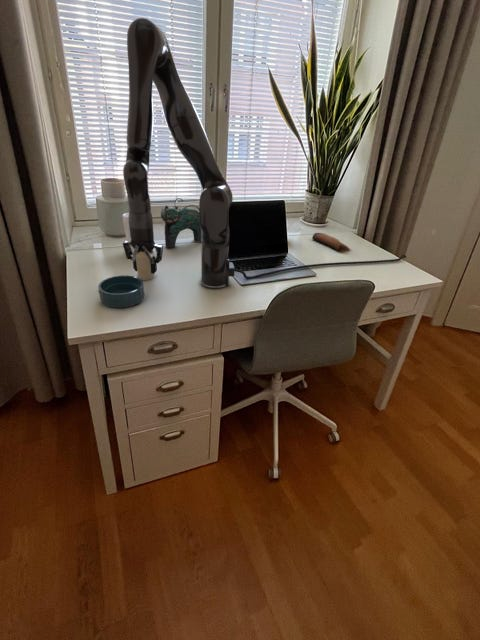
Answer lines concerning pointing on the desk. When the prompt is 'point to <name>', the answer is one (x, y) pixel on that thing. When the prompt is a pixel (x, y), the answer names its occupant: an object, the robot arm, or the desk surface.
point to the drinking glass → (127, 228)
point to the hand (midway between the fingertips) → (145, 271)
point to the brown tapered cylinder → (330, 241)
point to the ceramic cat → (180, 223)
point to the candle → (143, 266)
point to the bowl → (121, 291)
